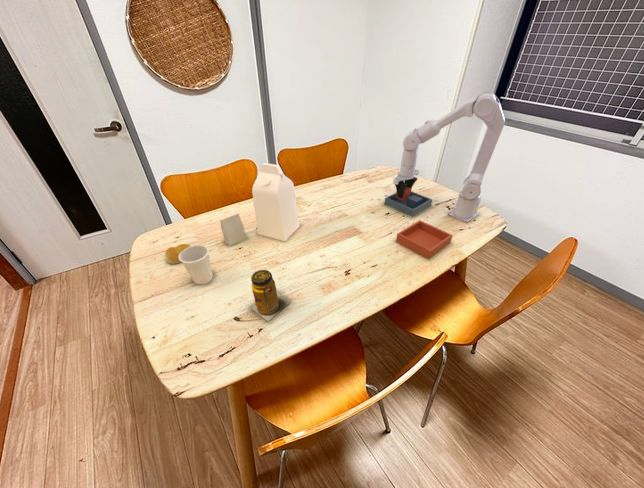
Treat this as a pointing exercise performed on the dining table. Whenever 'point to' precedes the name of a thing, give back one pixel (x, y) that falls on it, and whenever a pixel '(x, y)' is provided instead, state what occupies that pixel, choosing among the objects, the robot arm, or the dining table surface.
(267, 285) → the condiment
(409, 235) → the terracotta bin
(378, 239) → the dining table surface
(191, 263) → the dixie cup
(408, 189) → the terracotta block
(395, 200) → the slate bin
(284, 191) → the milk
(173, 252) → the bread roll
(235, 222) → the grey wedge block
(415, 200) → the slate block
